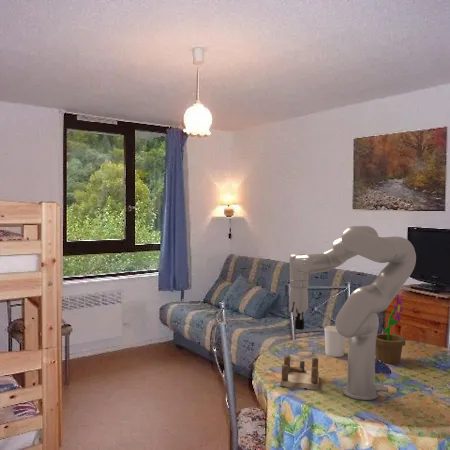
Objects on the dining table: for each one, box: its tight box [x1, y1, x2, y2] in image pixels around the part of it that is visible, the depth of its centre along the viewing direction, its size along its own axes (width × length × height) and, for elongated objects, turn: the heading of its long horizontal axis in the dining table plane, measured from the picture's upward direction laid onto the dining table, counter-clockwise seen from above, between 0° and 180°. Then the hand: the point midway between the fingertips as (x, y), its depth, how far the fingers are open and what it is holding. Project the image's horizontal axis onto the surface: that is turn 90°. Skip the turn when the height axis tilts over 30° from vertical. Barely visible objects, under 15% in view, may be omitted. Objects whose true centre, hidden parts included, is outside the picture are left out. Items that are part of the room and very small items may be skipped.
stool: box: [279, 357, 320, 391], centre depth 183 cm, size 14×14×8 cm
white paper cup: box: [324, 325, 346, 358], centre depth 217 cm, size 10×10×12 cm
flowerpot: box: [375, 294, 406, 365], centre depth 209 cm, size 14×14×30 cm
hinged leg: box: [283, 355, 306, 372], centre depth 188 cm, size 8×2×6 cm, turn 84°
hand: (299, 328), depth 193 cm, fingers closed
